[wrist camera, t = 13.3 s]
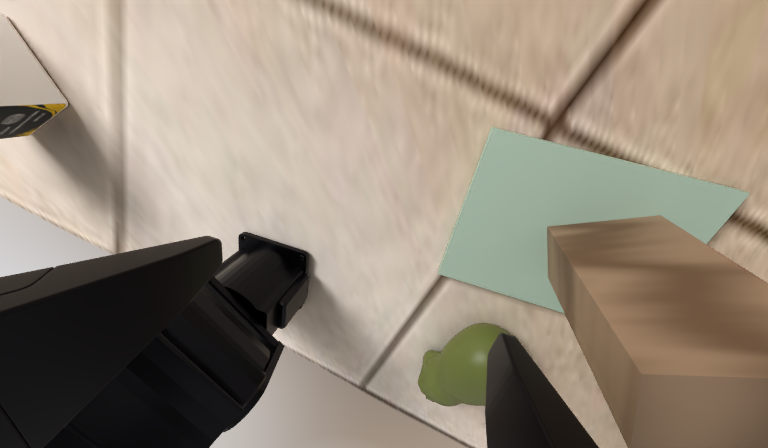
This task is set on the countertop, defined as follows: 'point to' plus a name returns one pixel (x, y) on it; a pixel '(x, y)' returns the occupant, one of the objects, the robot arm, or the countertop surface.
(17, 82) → the medicine bottle
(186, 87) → the countertop surface
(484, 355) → the pear
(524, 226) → the mat
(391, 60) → the countertop surface
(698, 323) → the block
